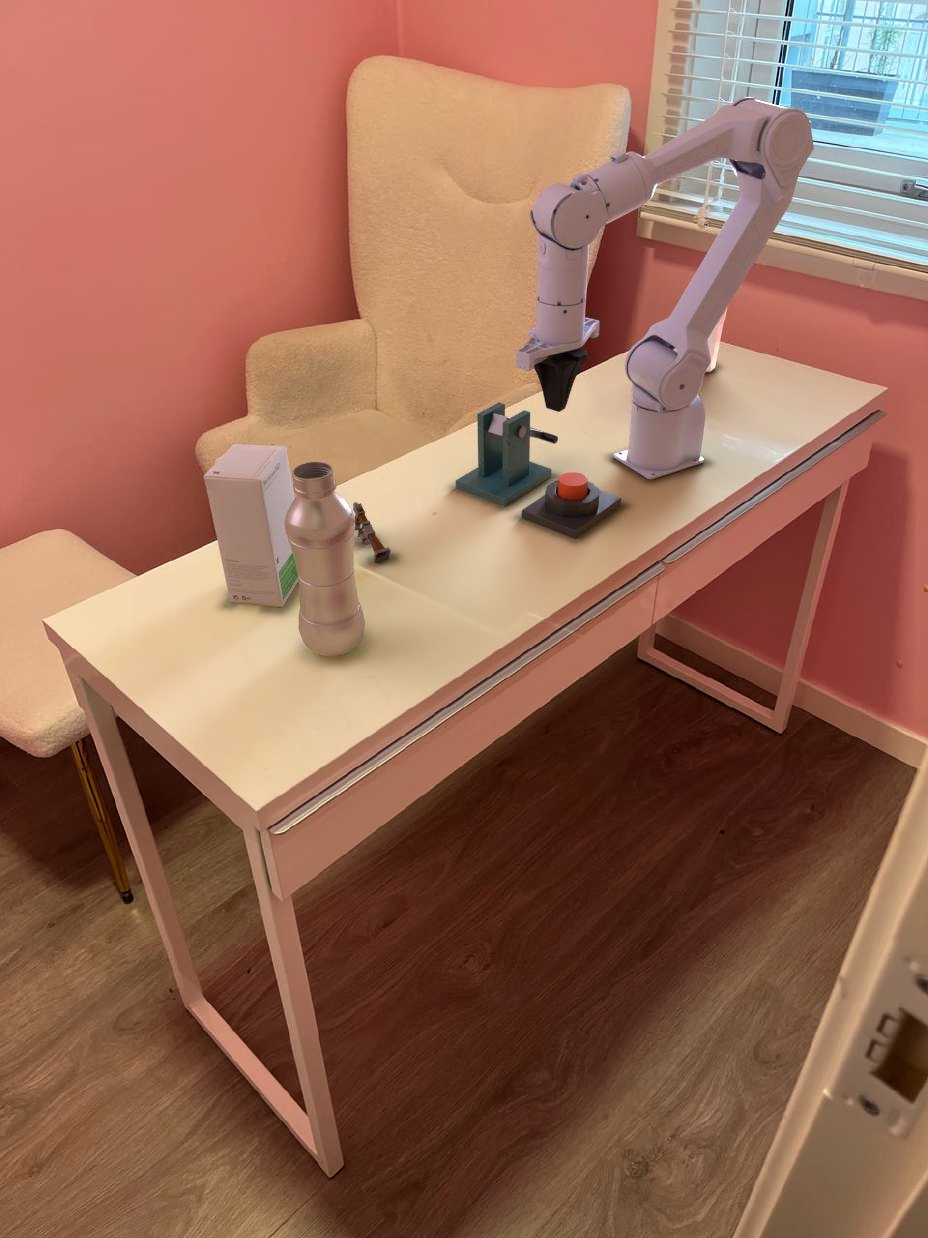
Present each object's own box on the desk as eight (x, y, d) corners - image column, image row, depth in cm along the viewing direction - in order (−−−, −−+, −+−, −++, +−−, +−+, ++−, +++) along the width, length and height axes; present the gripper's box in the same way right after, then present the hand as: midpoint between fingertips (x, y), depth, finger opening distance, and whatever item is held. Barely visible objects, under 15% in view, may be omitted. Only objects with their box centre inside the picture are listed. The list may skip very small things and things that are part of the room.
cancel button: (568, 483, 121) (569, 469, 119) (593, 492, 119) (593, 477, 118) (551, 495, 119) (552, 480, 117) (576, 504, 117) (577, 489, 115)
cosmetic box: (282, 610, 105) (261, 482, 96) (225, 604, 106) (198, 477, 97) (307, 567, 112) (290, 444, 102) (253, 562, 113) (231, 440, 103)
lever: (524, 439, 131) (530, 421, 131) (555, 449, 129) (560, 431, 128) (479, 428, 122) (484, 410, 122) (510, 439, 120) (516, 420, 119)
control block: (568, 487, 125) (569, 466, 124) (621, 506, 121) (622, 484, 119) (521, 518, 119) (521, 497, 117) (575, 539, 115) (576, 517, 113)
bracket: (503, 460, 132) (503, 391, 126) (551, 476, 128) (553, 407, 122) (455, 488, 126) (453, 418, 120) (504, 507, 122) (504, 435, 116)
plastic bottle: (303, 628, 102) (277, 456, 90) (367, 623, 103) (349, 452, 91) (300, 666, 97) (271, 490, 85) (367, 662, 97) (349, 485, 85)
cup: (677, 373, 154) (685, 304, 148) (677, 358, 160) (684, 290, 153) (720, 375, 153) (730, 305, 147) (718, 359, 159) (727, 291, 152)
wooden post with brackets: (359, 519, 118) (362, 496, 114) (386, 570, 115) (390, 548, 111) (345, 523, 117) (348, 500, 114) (372, 575, 114) (376, 552, 110)
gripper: (568, 276, 119) (562, 382, 127) (495, 307, 110) (494, 418, 118) (617, 287, 115) (608, 395, 123) (546, 320, 106) (541, 434, 114)
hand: (555, 408), depth 120 cm, fingers closed
